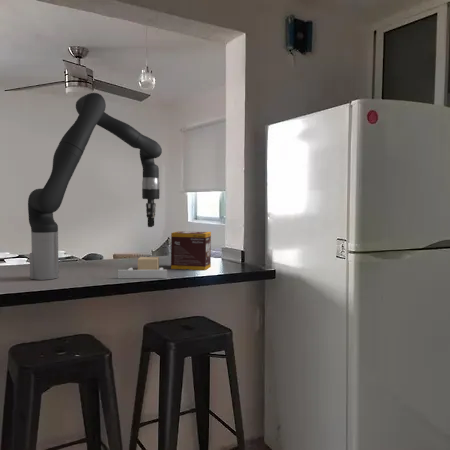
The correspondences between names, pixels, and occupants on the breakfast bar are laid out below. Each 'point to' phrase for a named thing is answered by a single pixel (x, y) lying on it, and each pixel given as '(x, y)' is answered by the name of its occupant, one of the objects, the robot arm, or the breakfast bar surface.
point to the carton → (148, 263)
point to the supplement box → (191, 250)
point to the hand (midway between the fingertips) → (151, 226)
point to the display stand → (142, 273)
